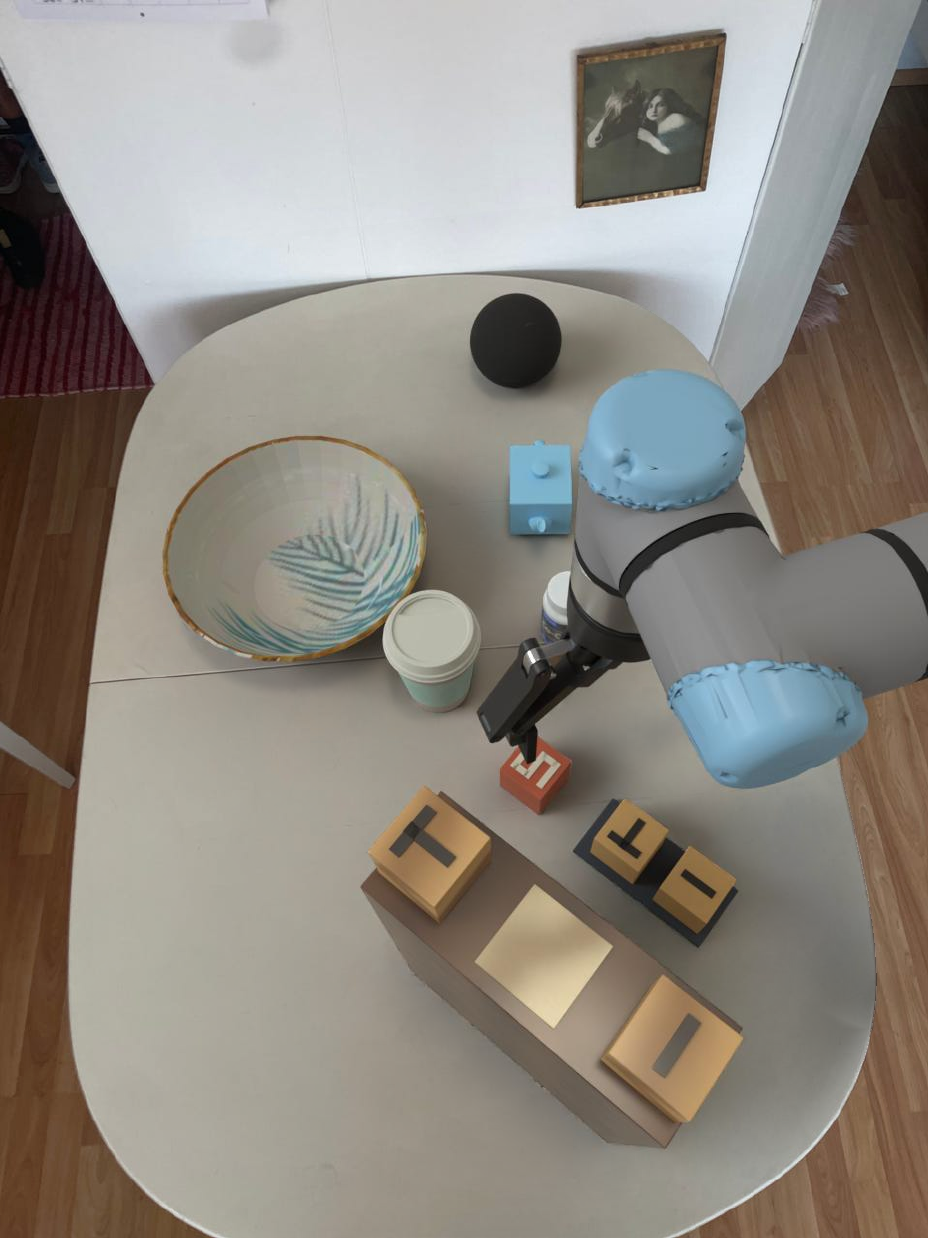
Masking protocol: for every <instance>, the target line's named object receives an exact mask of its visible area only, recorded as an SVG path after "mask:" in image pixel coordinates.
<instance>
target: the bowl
mask: <svg viewBox="0 0 928 1238" xmlns="http://www.w3.org/2000/svg"><path fill="white" fill-rule="evenodd" d="M427 529H428V528H427V523H426V518H425V512H424V509H423V506H422V503H421V502H420V499H419V497H418V495H417V493H416V489H415V488H414V487H413V486H412V484H411V483H410V482H409V480H408V479H407V477H406V476H405V475H404V474H403V472H402V471H401V470H399V468H398V467H396V466H395V465H394V464H392V462H391V461H389V460H388V459H387V458H386V457H384V456H383V455H381V454H378V453H377V452H376V451H373V450H372V449H370V448H369V447H366V446H363V445H361V444H358V443H355V442H351V441H349V440H347V439H342V438H338V437H337V438H336V437H330V436H323V435H294V436H287V437H281V438H275V439H270V440H266V441H263V442H261V443H257V444H254V445H251V446H248V447H246V448H244V449H242V450H240V451H238V452H236V453H234V454H232V455H230V456H228V457H226V458H225V459H223V460H222V461H221V462H219V463H217V464H216V465H215V466H213V467H212V468H211V469H210V470H208V471H207V472H205V474H203V476H201V478H200V479H198V481H196V483H195V484H194V485H192V487H191V488H190V489H189V490H188V491H187V493H186V494H185V495H184V497H183V498H182V500H181V501H180V503H179V504H178V506H177V507H176V509H175V511H174V513H173V515H172V518H171V520H170V522H169V525H168V527H167V529H166V534H165V538H164V543H163V548H162V575H163V579H164V583H165V586H166V590H167V594H168V597H169V599H170V600H171V602H172V604H173V606H174V608H175V610H176V611H177V613H178V615H179V616H180V617H181V618H182V620H183V621H184V622H185V623H186V624H187V625H188V626H189V627H190V628H191V630H193V631H194V633H196V634H197V635H199V637H201V638H203V639H204V640H206V641H207V642H209V643H210V644H211V645H213V646H215V647H217V648H219V649H222V650H223V651H226V652H229V653H231V654H233V655H235V656H238V657H242V658H248V659H253V660H258V661H262V662H287V663H288V662H289V663H291V662H293V663H294V662H301V661H308V660H313V659H320V658H323V657H327V656H329V655H332V654H335V653H337V652H340V651H343V650H346V649H348V648H349V647H352V646H353V645H355V644H357V643H359V642H360V641H362V640H365V639H366V638H367V637H369V636H370V635H371V634H373V633H374V632H376V631H377V629H379V628H380V627H382V625H385V624H386V621H387V619H388V617H389V615H390V614H391V612H392V611H393V609H394V608H395V607H396V605H397V604H398V603H399V602H400V601H402V600H403V599H404V598H406V597H407V596H409V595H410V593H411V592H412V590H413V588H414V586H415V584H416V582H417V580H418V579H419V577H420V575H421V571H422V567H423V563H424V560H425V557H426V552H427V535H428V530H427Z"/></svg>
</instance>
